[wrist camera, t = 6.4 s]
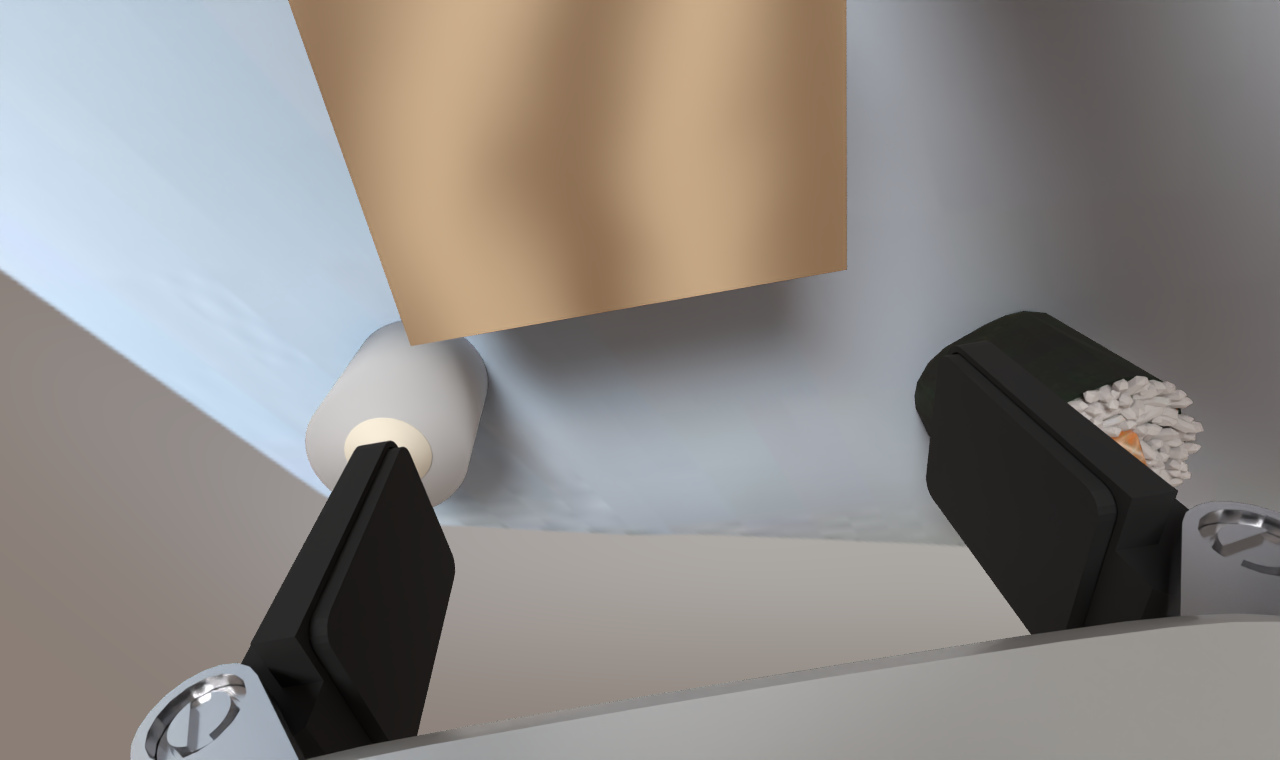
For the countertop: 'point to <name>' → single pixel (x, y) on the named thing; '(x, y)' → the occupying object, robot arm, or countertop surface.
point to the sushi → (1089, 389)
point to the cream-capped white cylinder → (403, 408)
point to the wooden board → (585, 149)
